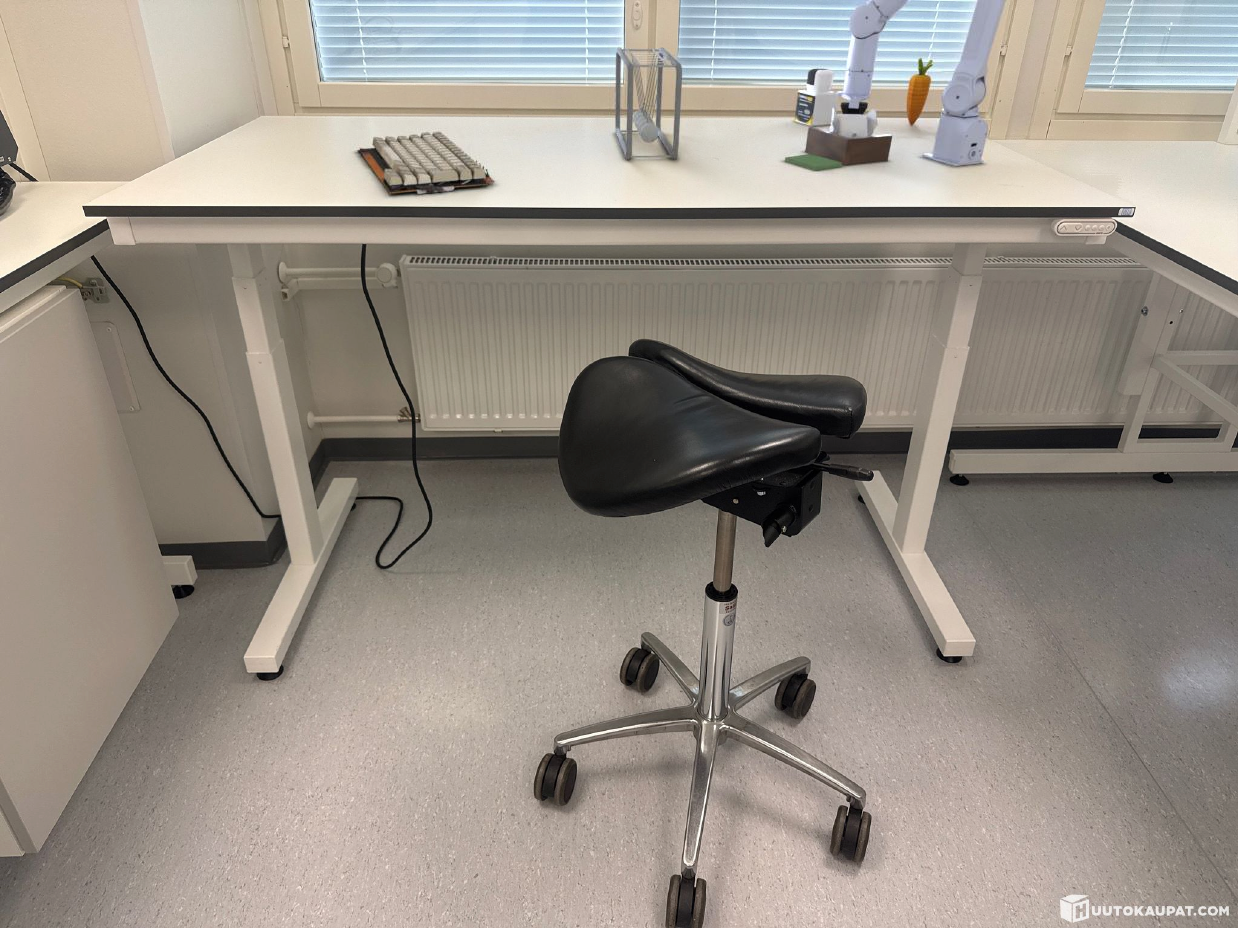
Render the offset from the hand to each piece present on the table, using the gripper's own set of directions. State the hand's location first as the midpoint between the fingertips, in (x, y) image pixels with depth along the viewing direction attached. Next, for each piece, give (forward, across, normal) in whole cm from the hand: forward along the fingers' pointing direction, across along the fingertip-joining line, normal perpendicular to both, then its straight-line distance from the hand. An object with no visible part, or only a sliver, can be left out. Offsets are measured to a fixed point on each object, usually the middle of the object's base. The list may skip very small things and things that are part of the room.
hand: (848, 138), depth 180 cm
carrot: (+2, -29, +14) cm, 32 cm away
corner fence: (+1, +11, 0) cm, 11 cm away
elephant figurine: (+2, +7, 0) cm, 8 cm away
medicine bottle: (+2, -24, -9) cm, 25 cm away
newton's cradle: (+2, +16, -42) cm, 45 cm away
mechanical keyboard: (+2, +50, -78) cm, 92 cm away
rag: (+1, +21, -6) cm, 22 cm away
